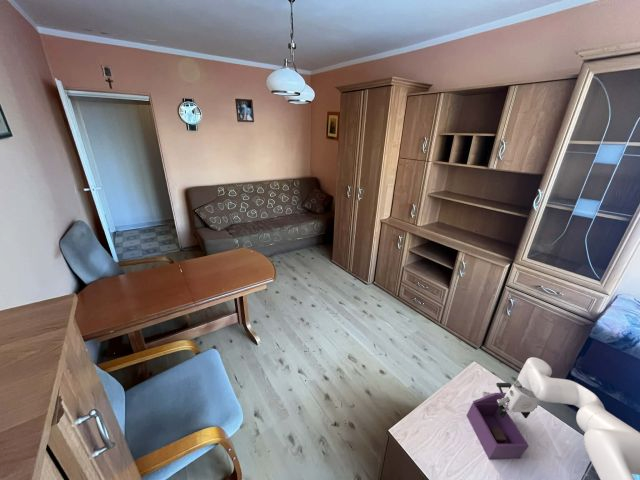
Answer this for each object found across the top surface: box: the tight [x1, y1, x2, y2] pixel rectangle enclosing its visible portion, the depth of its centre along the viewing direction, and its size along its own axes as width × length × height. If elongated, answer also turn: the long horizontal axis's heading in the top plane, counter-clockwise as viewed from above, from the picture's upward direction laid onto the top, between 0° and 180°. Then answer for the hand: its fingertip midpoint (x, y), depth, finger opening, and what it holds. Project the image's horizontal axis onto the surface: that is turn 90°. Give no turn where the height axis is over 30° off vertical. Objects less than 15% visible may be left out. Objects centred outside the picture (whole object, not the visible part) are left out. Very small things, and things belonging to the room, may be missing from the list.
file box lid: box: [472, 382, 512, 403], centre depth 117 cm, size 19×14×5 cm
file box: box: [466, 402, 530, 460], centre depth 118 cm, size 18×14×10 cm
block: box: [490, 429, 506, 444], centre depth 117 cm, size 4×4×4 cm
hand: (511, 414), depth 107 cm, fingers open, 9 cm apart
